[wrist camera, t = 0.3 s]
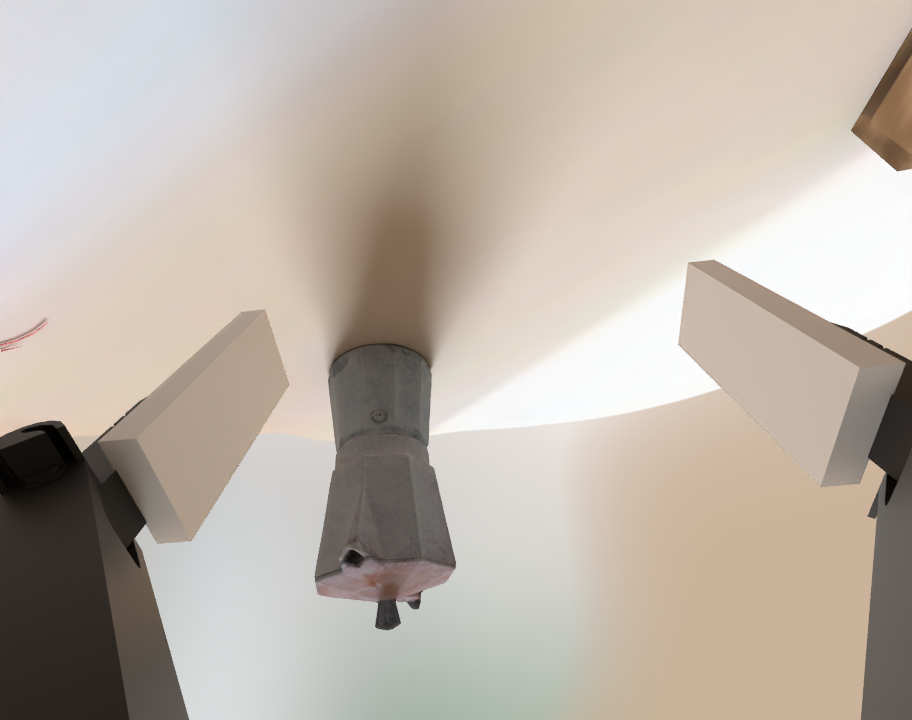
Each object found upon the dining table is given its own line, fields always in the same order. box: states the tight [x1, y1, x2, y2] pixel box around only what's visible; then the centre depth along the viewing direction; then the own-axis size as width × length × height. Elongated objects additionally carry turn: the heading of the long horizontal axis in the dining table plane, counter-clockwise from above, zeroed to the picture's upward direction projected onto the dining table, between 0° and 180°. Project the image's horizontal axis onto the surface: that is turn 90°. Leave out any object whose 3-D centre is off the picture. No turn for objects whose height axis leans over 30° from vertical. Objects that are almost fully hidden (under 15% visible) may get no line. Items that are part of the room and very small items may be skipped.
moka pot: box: [315, 344, 456, 630], centre depth 36 cm, size 10×15×20 cm, turn 15°
